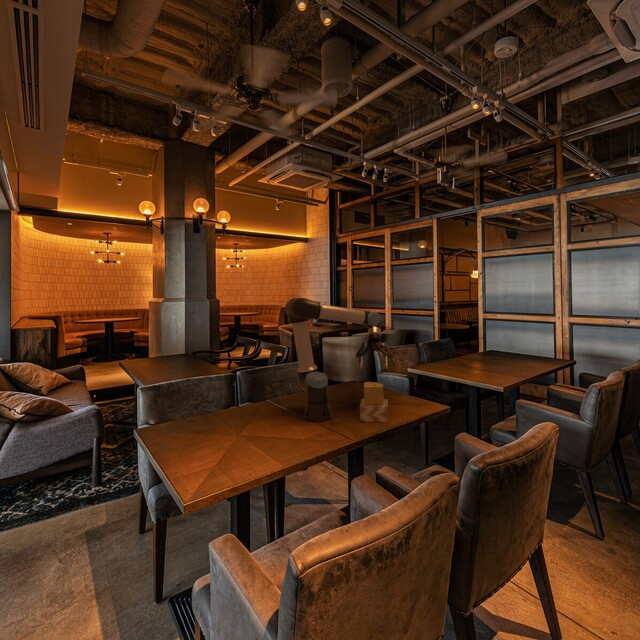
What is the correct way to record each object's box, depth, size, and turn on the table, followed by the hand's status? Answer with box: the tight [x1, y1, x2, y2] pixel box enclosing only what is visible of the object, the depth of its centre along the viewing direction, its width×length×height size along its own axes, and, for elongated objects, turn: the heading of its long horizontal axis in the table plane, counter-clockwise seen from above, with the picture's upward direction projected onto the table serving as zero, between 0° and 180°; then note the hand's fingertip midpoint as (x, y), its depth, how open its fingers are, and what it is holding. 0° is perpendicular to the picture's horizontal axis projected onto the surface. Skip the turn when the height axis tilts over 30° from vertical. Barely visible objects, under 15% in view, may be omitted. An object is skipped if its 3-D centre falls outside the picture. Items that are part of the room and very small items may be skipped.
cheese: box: [363, 381, 385, 405], centre depth 196 cm, size 10×11×10 cm
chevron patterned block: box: [359, 398, 389, 423], centre depth 197 cm, size 14×14×8 cm
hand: (374, 367), depth 204 cm, fingers open, 13 cm apart
